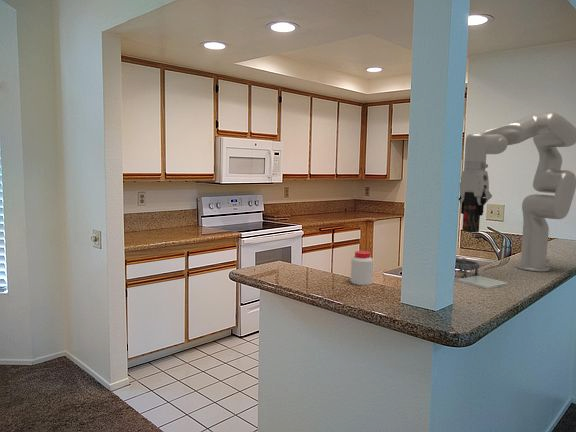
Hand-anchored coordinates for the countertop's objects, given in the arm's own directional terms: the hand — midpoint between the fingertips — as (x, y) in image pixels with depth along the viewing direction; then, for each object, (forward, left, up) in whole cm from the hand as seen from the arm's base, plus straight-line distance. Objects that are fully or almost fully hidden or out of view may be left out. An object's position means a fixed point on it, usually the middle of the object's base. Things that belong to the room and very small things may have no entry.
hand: (471, 214), depth 168 cm
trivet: (+4, +9, -24) cm, 26 cm away
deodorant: (0, 0, -7) cm, 7 cm away
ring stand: (-1, -3, -24) cm, 25 cm away
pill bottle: (+43, -13, -25) cm, 51 cm away
